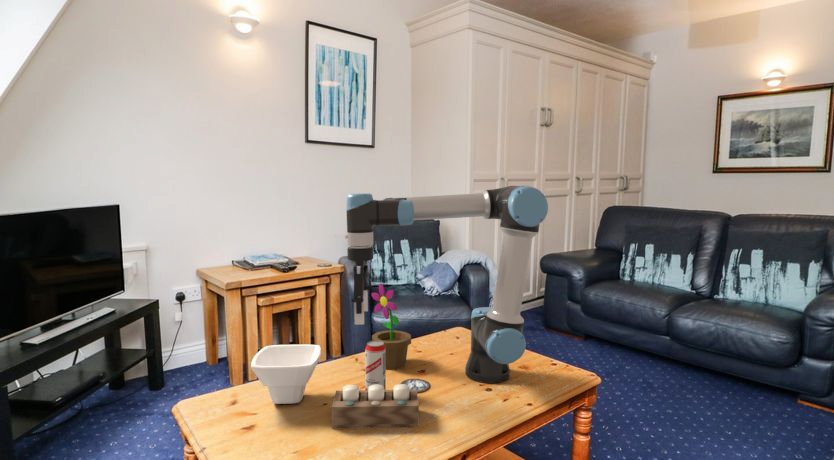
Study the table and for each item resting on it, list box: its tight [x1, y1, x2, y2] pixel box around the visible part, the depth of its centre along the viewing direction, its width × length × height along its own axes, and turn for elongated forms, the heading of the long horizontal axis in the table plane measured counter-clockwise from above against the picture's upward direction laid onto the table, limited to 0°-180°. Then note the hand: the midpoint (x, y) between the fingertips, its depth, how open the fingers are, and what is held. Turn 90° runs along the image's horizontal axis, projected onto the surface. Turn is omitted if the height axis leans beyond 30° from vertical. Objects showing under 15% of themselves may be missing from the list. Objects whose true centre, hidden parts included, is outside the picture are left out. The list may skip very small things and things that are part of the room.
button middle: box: [368, 384, 384, 401], centre depth 133 cm, size 4×4×5 cm
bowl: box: [250, 343, 322, 405], centre depth 143 cm, size 19×19×14 cm
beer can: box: [364, 340, 387, 390], centre depth 147 cm, size 6×6×16 cm
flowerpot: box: [371, 283, 412, 371], centre depth 171 cm, size 14×14×30 cm
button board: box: [331, 389, 420, 430], centre depth 132 cm, size 23×10×6 cm, turn 93°
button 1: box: [342, 384, 360, 401], centre depth 132 cm, size 4×4×5 cm
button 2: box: [393, 383, 410, 400], centre depth 133 cm, size 4×4×5 cm
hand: (361, 317), depth 142 cm, fingers open, 13 cm apart
